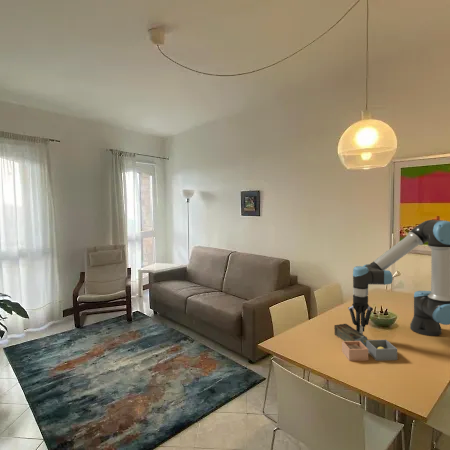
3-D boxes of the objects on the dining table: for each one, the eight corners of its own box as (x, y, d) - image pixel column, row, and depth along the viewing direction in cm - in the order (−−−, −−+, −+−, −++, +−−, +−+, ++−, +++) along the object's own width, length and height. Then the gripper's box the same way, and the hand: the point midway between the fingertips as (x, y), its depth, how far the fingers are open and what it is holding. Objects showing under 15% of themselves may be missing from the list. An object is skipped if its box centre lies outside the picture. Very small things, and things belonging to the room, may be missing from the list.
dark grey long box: (354, 350, 155) (354, 338, 155) (333, 335, 174) (333, 324, 174) (368, 348, 157) (368, 336, 156) (346, 333, 176) (346, 322, 175)
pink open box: (359, 352, 152) (359, 340, 152) (368, 361, 144) (368, 349, 143) (342, 352, 153) (341, 341, 152) (349, 362, 144) (349, 349, 143)
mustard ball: (383, 353, 150) (383, 345, 150) (387, 357, 146) (387, 349, 146) (375, 353, 150) (375, 345, 150) (379, 357, 146) (379, 349, 146)
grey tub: (386, 351, 153) (386, 339, 153) (397, 361, 143) (397, 348, 143) (366, 351, 153) (366, 340, 153) (376, 361, 143) (376, 349, 143)
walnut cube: (355, 353, 151) (355, 344, 150) (361, 357, 146) (361, 348, 146) (347, 354, 150) (347, 345, 149) (353, 358, 145) (353, 349, 145)
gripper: (369, 292, 168) (369, 334, 170) (345, 293, 168) (345, 334, 170) (375, 296, 161) (375, 339, 162) (351, 297, 161) (351, 340, 162)
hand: (360, 337), depth 166 cm, fingers closed
